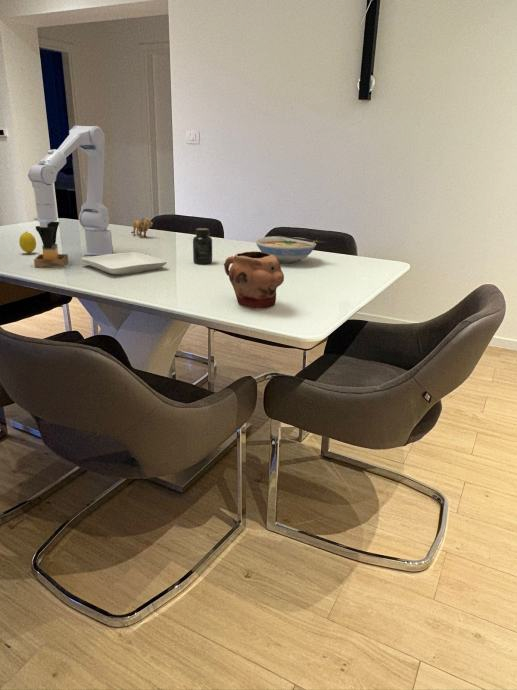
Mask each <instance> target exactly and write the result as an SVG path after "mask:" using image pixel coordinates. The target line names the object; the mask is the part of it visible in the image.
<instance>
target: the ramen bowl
mask: <svg viewBox="0 0 517 690" xmlns="http://www.w3.org/2000/svg"><path fill="white" fill-rule="evenodd" d="M254 242H255V244H256V247H257V248H258V249H259V250H260V251H259V252H263V253H268V254H271V255H274V256H275V257H276V258H277V260H278V261H279V263H281V264H292V263H296V261H300V260H302V259H305V258H306V257H308V256H309V255H311V253H312V252H313V251H314V249H315V247H316V246H317V244H319V245H324V244H325V245H327V241H324V240H323V241H321V240H314V239H308V238H304V237H296V236H295V237H294V236H286V235H280V234H271V236H263V237H260V238H257V239H255V241H254Z"/></svg>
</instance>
